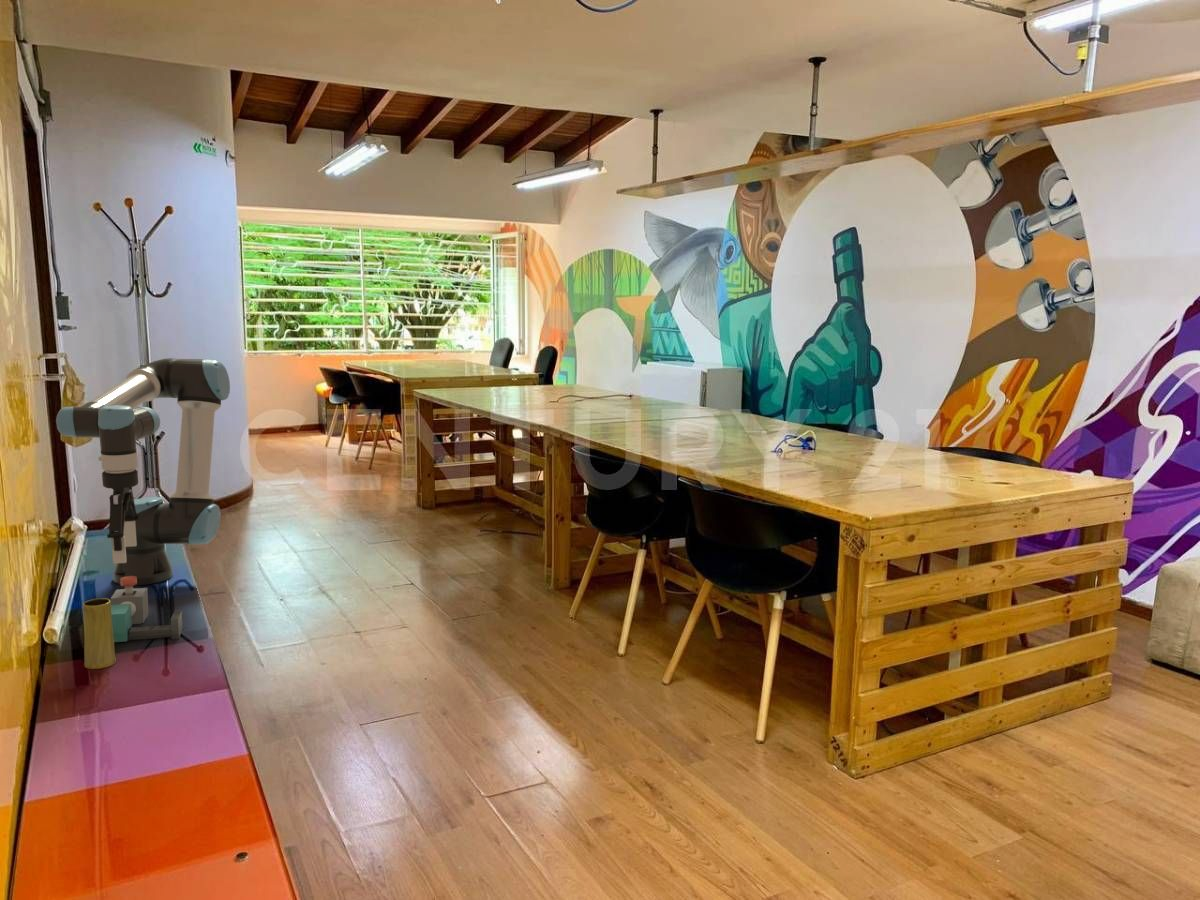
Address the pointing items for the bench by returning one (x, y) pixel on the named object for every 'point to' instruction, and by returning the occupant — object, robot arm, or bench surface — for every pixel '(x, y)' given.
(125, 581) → the red ball knob
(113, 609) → the block
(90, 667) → the vase
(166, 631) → the rail
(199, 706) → the bench surface
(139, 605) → the grey cube housing
